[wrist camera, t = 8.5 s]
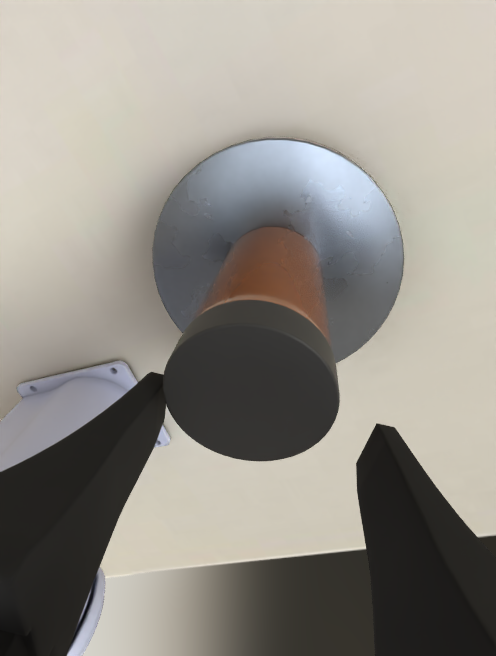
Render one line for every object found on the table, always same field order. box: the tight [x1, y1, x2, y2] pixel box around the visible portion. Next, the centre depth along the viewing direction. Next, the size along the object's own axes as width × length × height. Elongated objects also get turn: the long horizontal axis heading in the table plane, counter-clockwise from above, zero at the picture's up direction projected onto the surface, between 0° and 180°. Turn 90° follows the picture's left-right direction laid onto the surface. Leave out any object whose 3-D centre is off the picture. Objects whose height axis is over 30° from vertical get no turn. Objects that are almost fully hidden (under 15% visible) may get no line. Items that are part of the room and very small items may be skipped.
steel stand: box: [153, 137, 404, 363], centre depth 19 cm, size 12×12×3 cm
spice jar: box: [163, 227, 340, 461], centre depth 14 cm, size 5×5×9 cm
